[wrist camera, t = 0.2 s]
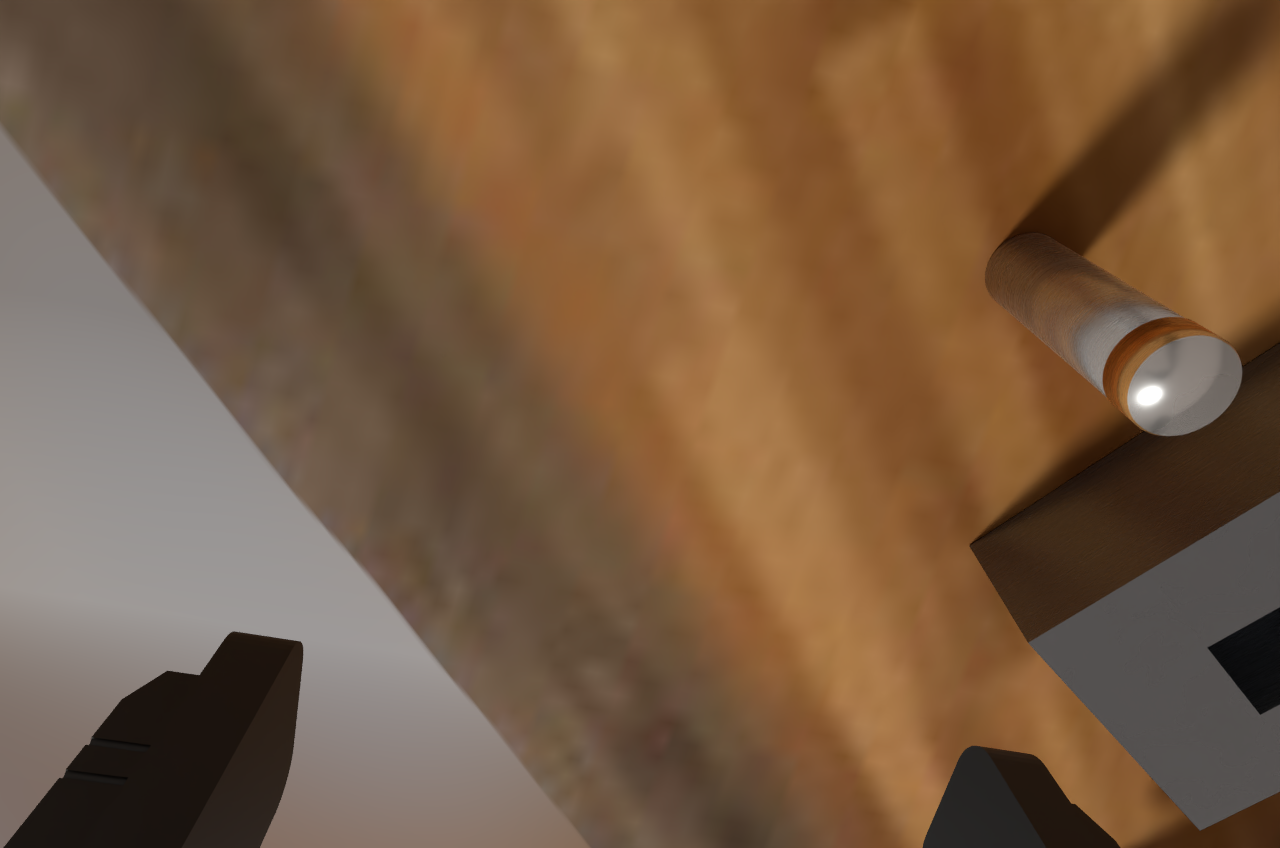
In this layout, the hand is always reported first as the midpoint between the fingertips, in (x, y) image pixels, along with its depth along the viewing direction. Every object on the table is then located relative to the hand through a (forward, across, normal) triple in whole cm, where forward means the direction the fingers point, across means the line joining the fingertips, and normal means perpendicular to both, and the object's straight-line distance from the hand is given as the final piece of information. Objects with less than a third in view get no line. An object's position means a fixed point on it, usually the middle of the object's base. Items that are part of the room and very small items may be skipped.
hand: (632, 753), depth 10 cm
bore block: (+23, -27, +5) cm, 36 cm away
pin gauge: (+22, -14, -5) cm, 27 cm away
